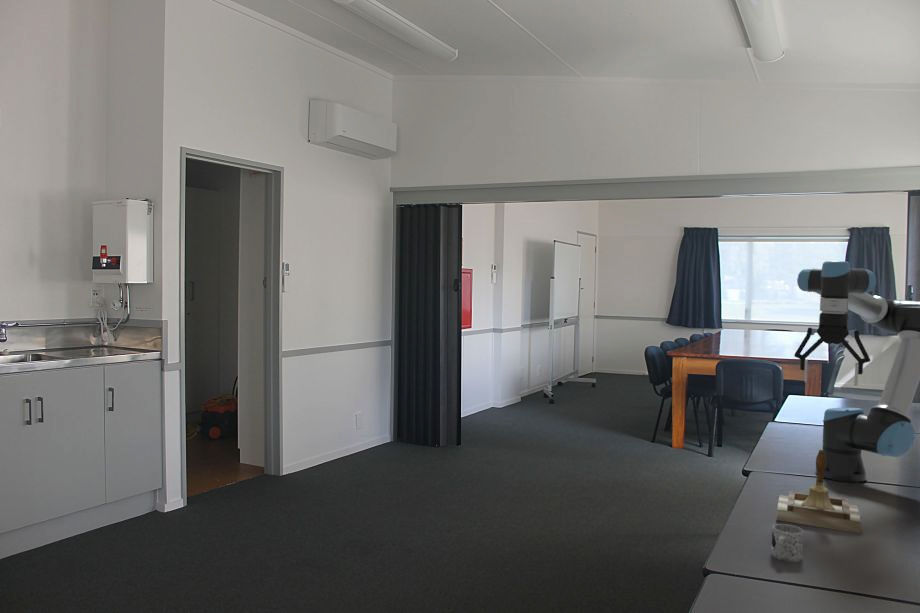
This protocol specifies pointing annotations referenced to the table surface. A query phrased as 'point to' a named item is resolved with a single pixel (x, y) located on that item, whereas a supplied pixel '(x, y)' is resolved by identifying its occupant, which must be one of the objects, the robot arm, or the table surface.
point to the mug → (787, 542)
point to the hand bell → (819, 487)
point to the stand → (819, 513)
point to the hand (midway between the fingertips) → (830, 383)
